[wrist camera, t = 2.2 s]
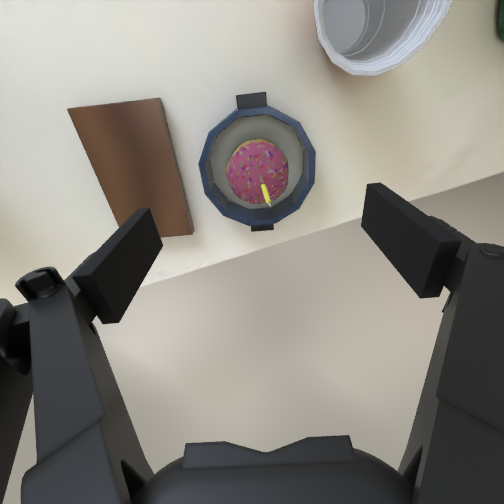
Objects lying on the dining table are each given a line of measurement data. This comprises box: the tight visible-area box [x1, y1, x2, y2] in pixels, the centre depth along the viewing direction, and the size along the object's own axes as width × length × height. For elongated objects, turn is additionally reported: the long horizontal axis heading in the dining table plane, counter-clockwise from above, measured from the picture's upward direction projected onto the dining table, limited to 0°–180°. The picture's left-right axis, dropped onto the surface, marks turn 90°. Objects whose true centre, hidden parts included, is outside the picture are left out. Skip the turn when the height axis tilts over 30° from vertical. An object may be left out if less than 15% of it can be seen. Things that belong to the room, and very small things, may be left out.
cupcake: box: [226, 139, 288, 207], centre depth 32 cm, size 9×8×12 cm
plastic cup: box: [313, 0, 452, 76], centre depth 24 cm, size 11×11×12 cm
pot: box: [199, 92, 316, 232], centre depth 36 cm, size 16×19×4 cm
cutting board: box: [67, 98, 194, 237], centre depth 38 cm, size 12×20×2 cm, turn 6°
